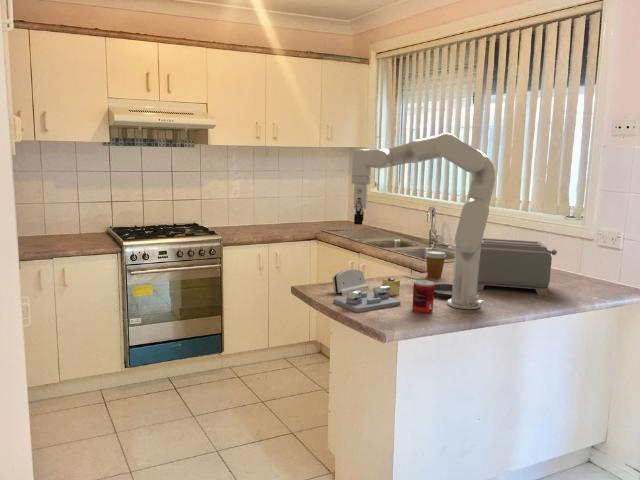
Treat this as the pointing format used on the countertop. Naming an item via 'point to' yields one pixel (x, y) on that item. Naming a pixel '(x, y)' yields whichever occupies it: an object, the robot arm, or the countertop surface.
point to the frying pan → (441, 290)
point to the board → (367, 303)
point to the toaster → (515, 264)
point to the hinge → (349, 282)
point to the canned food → (423, 296)
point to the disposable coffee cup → (435, 263)
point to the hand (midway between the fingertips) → (358, 222)
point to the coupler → (392, 286)
